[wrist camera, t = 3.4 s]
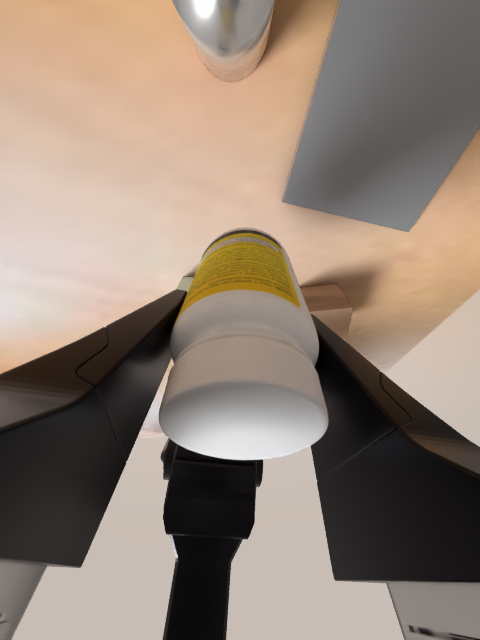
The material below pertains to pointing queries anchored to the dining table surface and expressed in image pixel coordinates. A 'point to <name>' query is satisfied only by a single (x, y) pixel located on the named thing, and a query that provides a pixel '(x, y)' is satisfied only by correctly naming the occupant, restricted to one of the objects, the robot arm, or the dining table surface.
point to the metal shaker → (228, 33)
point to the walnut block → (329, 307)
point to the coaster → (388, 109)
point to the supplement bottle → (244, 356)
